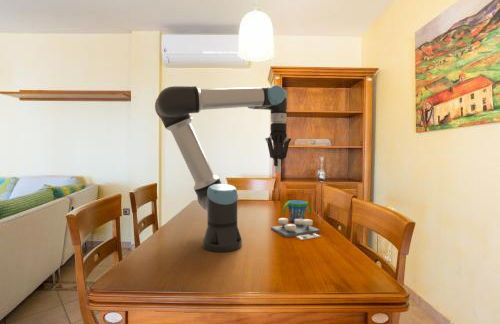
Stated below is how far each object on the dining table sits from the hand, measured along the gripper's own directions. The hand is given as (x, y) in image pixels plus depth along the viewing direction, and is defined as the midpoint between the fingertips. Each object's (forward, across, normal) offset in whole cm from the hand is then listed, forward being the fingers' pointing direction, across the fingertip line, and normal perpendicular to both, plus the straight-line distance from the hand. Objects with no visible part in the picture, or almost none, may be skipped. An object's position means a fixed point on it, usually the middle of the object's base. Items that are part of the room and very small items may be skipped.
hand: (278, 173), depth 133 cm
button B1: (+25, +9, -11) cm, 28 cm away
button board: (+26, +5, -8) cm, 28 cm away
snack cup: (+27, +16, +7) cm, 32 cm away
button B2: (+26, +9, -4) cm, 28 cm away
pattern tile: (+26, +5, -18) cm, 32 cm away
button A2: (+25, +1, -4) cm, 25 cm away
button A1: (+26, 0, -11) cm, 28 cm away
